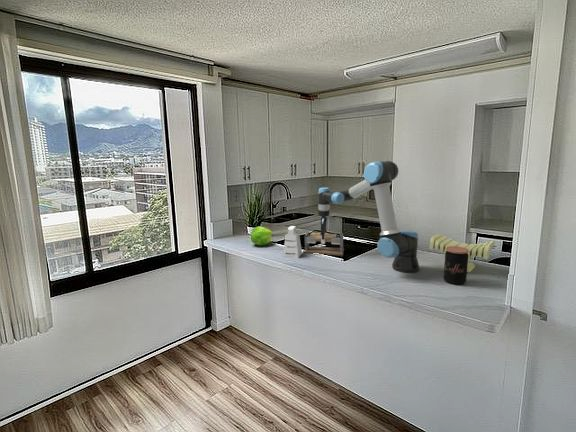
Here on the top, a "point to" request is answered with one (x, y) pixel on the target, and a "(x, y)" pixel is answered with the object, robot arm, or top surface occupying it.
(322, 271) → the top surface
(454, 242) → the slatted curved stool
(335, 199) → the robot arm
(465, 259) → the coffee jar
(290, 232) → the grater
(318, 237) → the rail
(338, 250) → the bracket stand
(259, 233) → the lettuce
